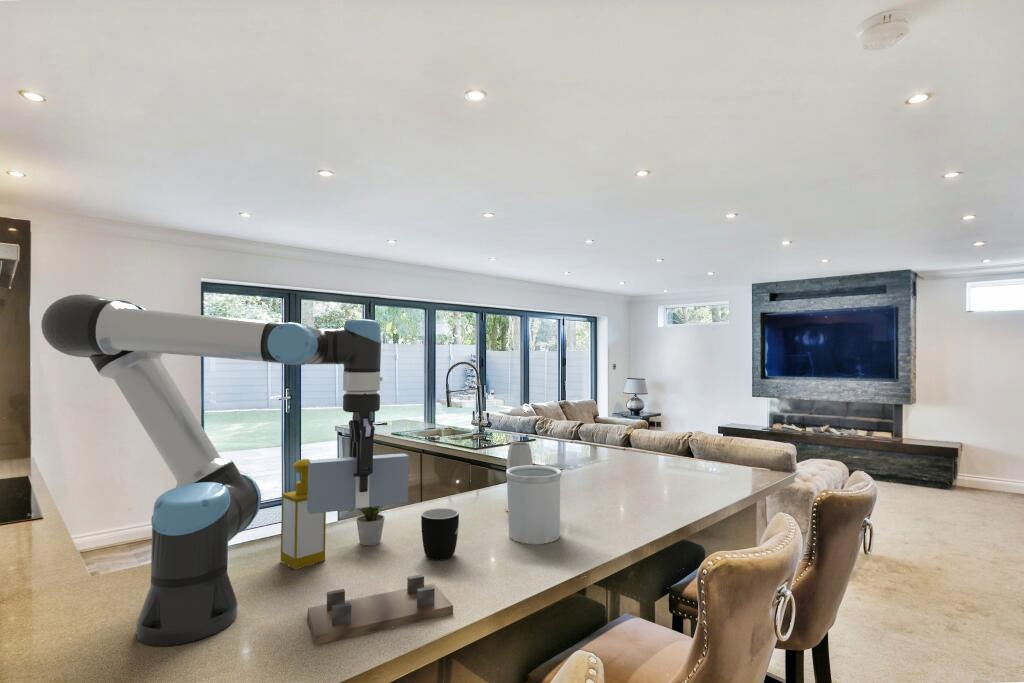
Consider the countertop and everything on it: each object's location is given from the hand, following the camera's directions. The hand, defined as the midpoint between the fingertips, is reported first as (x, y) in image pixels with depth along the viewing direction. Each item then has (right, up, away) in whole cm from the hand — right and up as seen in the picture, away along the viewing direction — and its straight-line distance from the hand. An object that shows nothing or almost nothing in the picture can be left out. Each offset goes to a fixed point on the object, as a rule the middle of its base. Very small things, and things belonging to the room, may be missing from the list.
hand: (359, 504), depth 111 cm
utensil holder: (+38, -18, +31) cm, 52 cm away
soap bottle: (-15, -17, +10) cm, 25 cm away
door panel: (0, 0, 0) cm, 0 cm away
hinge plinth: (+8, -16, -14) cm, 23 cm away
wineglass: (+34, -19, +55) cm, 67 cm away
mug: (+14, -18, +17) cm, 29 cm away
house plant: (-5, -18, +27) cm, 32 cm away
